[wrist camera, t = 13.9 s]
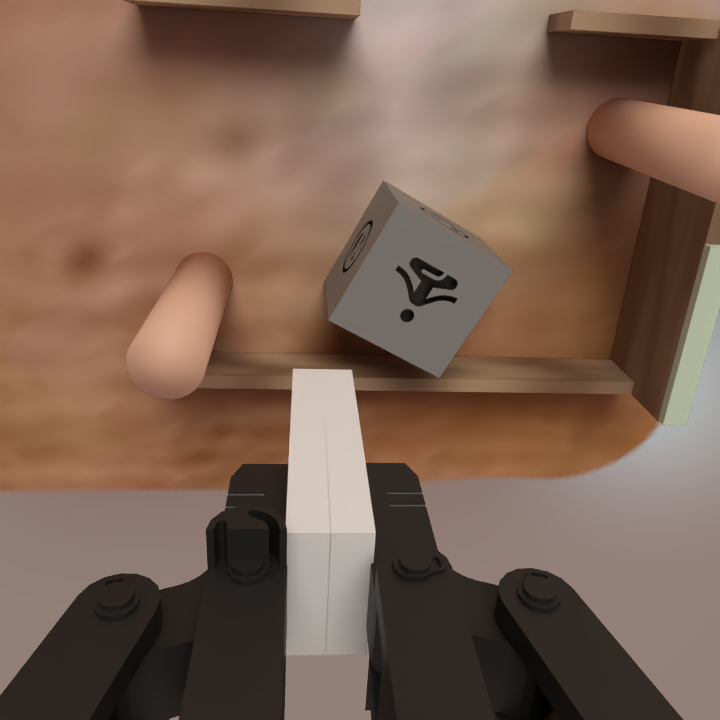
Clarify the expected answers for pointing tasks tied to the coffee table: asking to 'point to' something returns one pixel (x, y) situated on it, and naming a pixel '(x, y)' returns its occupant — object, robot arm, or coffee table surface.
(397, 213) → the dice cube
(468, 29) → the coffee table surface
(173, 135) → the coffee table surface
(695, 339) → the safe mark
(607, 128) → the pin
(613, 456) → the coffee table surface
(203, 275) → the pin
